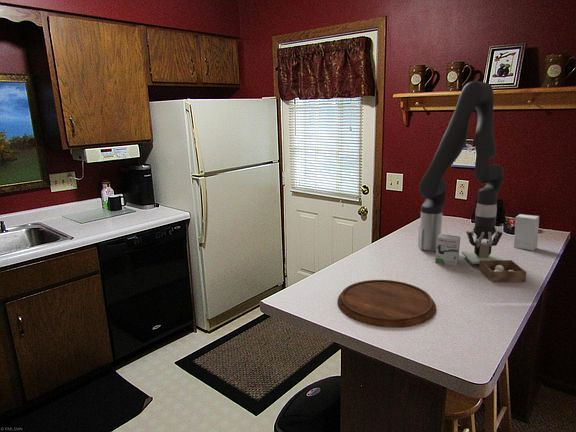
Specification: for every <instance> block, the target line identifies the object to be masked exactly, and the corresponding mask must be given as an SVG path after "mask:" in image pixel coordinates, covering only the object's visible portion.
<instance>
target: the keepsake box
mask: <svg viewBox="0 0 576 432" xmlns="http://www.w3.org/2000/svg"><path fill="white" fill-rule="evenodd" d="M497 265H502V266H503V267H504V271H494V270H495V267H496V266H497ZM509 270H514V271H509ZM478 271H480V273H482V274H483V276H484V277H485V278H487V280H488V281H489V282H490V283H525V282H526V277H527V271H526V270H525V269H523V268H522V267H521V266H520V265H519V264H517V263H516V262H515V261H513V260H511V259H502V260H480V262H479V267H478Z"/></svg>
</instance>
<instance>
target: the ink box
mask: <svg viewBox="0 0 576 432" xmlns="http://www.w3.org/2000/svg"><path fill="white" fill-rule="evenodd" d="M460 245H461V236H459V235H451V234H443V233H441V234H439V235H438V237H437V245H436V251H435V259H434V260H435V261H434V262H435V264H440V265H447V266H448V265H449V266H450V265H451V266H455V267H457V266H458V263H459V255H460V247H461V246H460Z"/></svg>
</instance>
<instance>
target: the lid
mask: <svg viewBox="0 0 576 432" xmlns="http://www.w3.org/2000/svg"><path fill="white" fill-rule="evenodd" d="M479 247H480V249H479V256H477V255H476V254H475V253H474V251H468V250H466V251H461V254H462V255H463V257H466V258H467V259H468V260H469V261H470V262H471V263H472V264H479V262H480V260H503V259H502V258H501V257H500V256H498V255H497V254H496V253H495V252H493V250H491V254H489V244H488V243H487V241H486V242H485V241H484V242H483V241H482V242H481V243H480V246H479Z"/></svg>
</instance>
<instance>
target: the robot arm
mask: <svg viewBox="0 0 576 432" xmlns="http://www.w3.org/2000/svg"><path fill="white" fill-rule="evenodd" d="M474 110H476V116H477V123H476V128H475V133H474V147H475V154H476V159H475V166H474V177H475V179H476V181H478V182H479V183H480V184H485V186H484V187H482V188H479V189H478V192H477V201H476V208H475V212H474V214H475V218H474V227H473V229H472V230H466V232H465V233H466V236H467V238H468V241H469V244H471V246H472V247H473V248H474V253H475V254H476V255H477V256H479V249H480V247H479V246H480V243H481V242H483V240H485V241H486V242H487V243H488V244H489V254H491V251H492V247H494V246H495V247H496V246H497V245H498V244H499V241H500V240H501V238H502V236H503V232H502V231H500V230H497V229H496V222H497V221H496V220H497V212H498V210H497V209H498V208H497V207H498V203H497V202H498V195H499V194H498V193H499V191H500V190H501V189H500V188H501V186H502V183H503V180H504V177H505V173H504V168H503V167H502V166H501V165H500V164H498V163H491V164H490V161H491V159H492V158H494V157H496V156H497V147H496V142H495V133H494V89H493V86H492V85H491V84H490V83H487V82H485V81H477V80H471V81H469V82H467V83H466V84H464V86H463V88H462V90H461V92H460V95H459V97H458V100H457V103H456V106H455V109H454V111H453V114H452V116H451V118H450V121H449V122H448V125H447V127H446V130H445V132H444V134H443V136H442V138H441V140H440V142H439V144H438V148H437V150H436V152H435V153H434V156H433V158H432V161H431V163H430V164H429V167H428V168H427V170H426V172H425V173H424V175H423V177H422V178H421V180H420V182H419V184H418V191H419V195H420V196H421V197H423V198H424V201H423V203H422V204H421V207H420V222H419V223H420V225H419V227H418V237H417V239H418V240H417V246H418V248H419V249H420V250H421V251H425V252H429V251H430V252H436V245H437V237H438V235H439V234H442V226H443V223H442V222H443V209H444V208H445V204H446V196H447V182H446V180H445V179H444V178H443V177H444V176H445V174H446V172H447V171H448V170H449V169H450V167H451V166H453V165H452V164H454V162H455V161H456V160H457V159H458V157H459V156H460V154H461V153H462V151H463V149H464V147H465V145H466V143H467V141H468V133H469V132H468V131H469V122H470V119H471V116H472V114H473V113H474ZM474 235H475V240H474ZM493 235H494V236H493ZM492 237H493V239H492Z"/></svg>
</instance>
